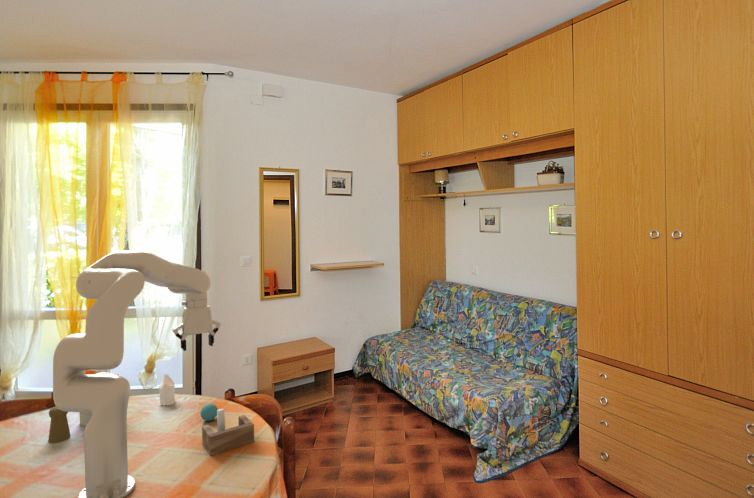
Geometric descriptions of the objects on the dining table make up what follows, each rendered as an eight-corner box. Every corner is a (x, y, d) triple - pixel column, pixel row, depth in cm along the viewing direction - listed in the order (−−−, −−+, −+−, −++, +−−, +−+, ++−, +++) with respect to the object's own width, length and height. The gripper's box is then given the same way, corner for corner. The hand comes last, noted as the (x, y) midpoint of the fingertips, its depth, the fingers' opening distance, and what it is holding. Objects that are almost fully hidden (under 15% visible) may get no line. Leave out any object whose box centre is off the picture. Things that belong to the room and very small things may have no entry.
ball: (220, 420, 152) (219, 404, 152) (203, 425, 149) (202, 408, 148) (215, 415, 157) (215, 399, 157) (198, 419, 153) (198, 403, 153)
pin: (225, 434, 142) (225, 410, 141) (218, 436, 140) (218, 412, 140) (223, 432, 143) (223, 408, 143) (216, 434, 142) (216, 409, 142)
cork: (44, 440, 138) (43, 408, 138) (64, 432, 143) (63, 401, 143) (53, 444, 135) (52, 411, 135) (74, 436, 141) (73, 405, 140)
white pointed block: (171, 376, 166) (156, 376, 165) (172, 405, 166) (157, 406, 165) (176, 371, 172) (161, 372, 171) (176, 399, 172) (162, 400, 171)
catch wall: (254, 442, 137) (253, 424, 136) (210, 456, 128) (210, 437, 128) (244, 431, 144) (244, 414, 143) (202, 444, 135) (201, 426, 135)
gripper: (174, 307, 149) (175, 354, 150) (222, 302, 160) (223, 345, 161) (169, 304, 155) (170, 349, 156) (216, 299, 166) (217, 341, 167)
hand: (197, 347), depth 158 cm, fingers open, 9 cm apart
